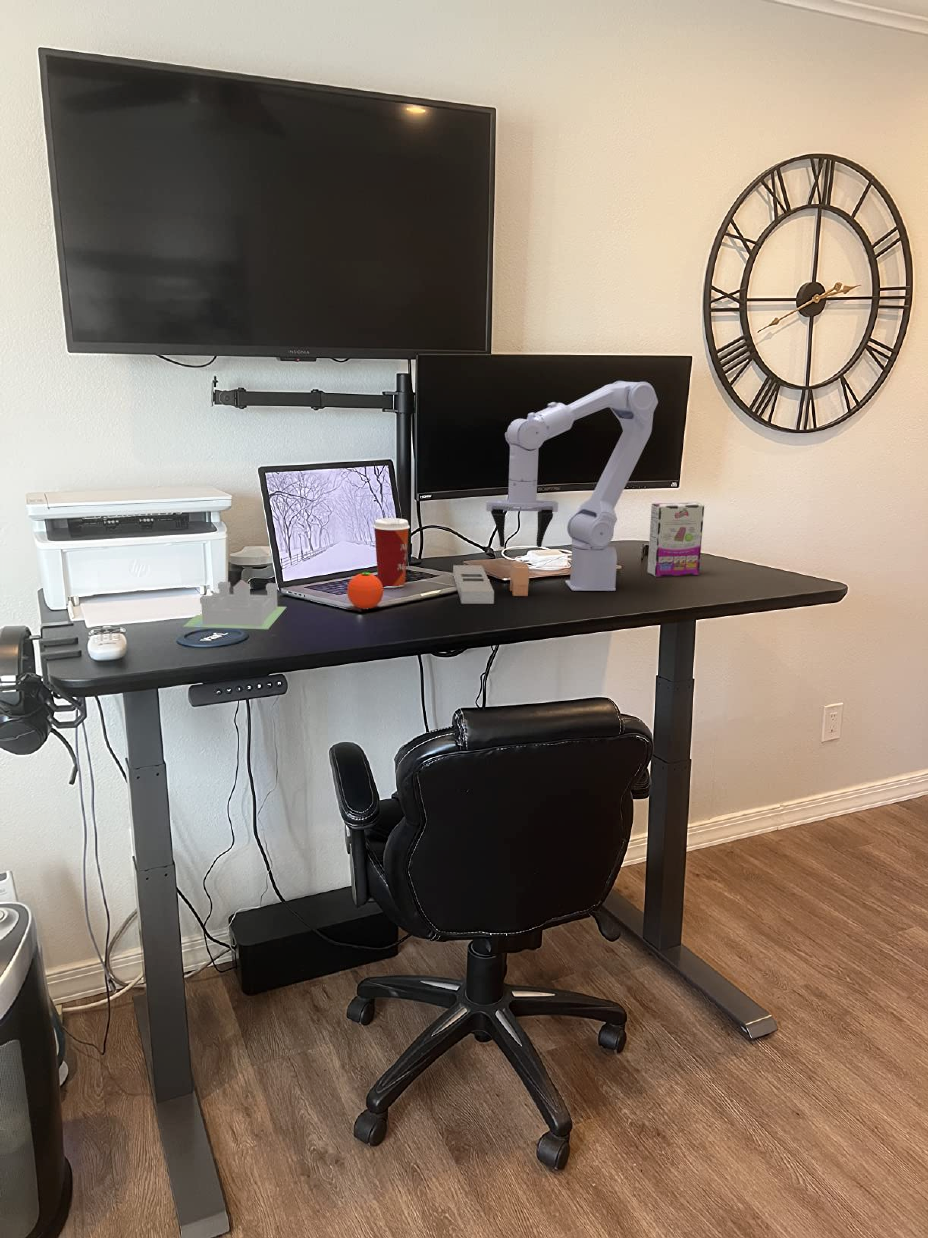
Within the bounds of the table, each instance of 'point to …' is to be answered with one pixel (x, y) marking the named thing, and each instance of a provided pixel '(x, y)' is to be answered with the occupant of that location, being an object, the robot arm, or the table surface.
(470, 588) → the rail
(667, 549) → the candy bar box
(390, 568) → the paper cup
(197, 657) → the table surface
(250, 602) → the castle model
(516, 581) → the orange block
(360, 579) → the clementine
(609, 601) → the table surface
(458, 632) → the table surface
